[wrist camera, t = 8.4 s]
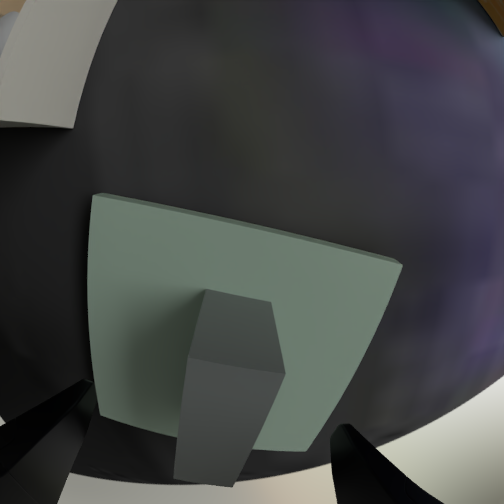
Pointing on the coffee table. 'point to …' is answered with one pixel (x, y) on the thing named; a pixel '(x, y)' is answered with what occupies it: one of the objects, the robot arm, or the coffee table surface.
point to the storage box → (47, 58)
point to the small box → (495, 12)
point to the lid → (224, 329)
